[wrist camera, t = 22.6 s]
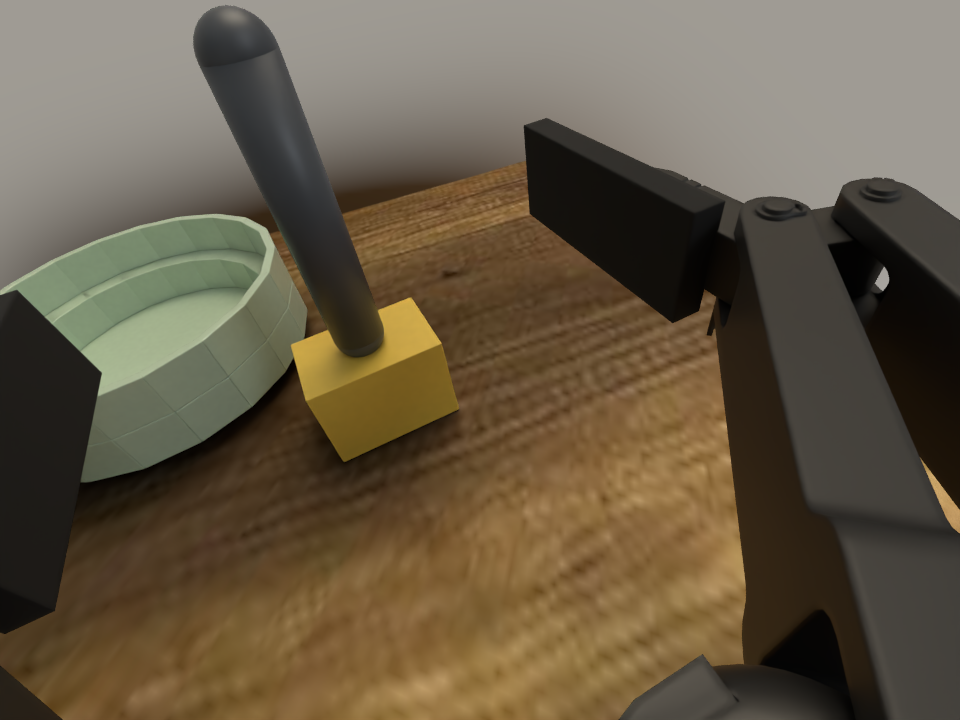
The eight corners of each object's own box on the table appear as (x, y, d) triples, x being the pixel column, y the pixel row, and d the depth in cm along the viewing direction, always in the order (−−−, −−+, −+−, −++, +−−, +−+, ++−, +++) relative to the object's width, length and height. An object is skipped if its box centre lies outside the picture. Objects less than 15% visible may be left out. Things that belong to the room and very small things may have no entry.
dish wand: (343, 462, 22) (84, 45, 10) (326, 406, 25) (104, 24, 13) (459, 409, 23) (345, -15, 12) (430, 361, 26) (314, -22, 14)
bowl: (-41, 436, 27) (-143, 370, 23) (191, 269, 37) (147, 204, 33) (144, 541, 20) (46, 473, 17) (364, 303, 31) (334, 228, 27)
